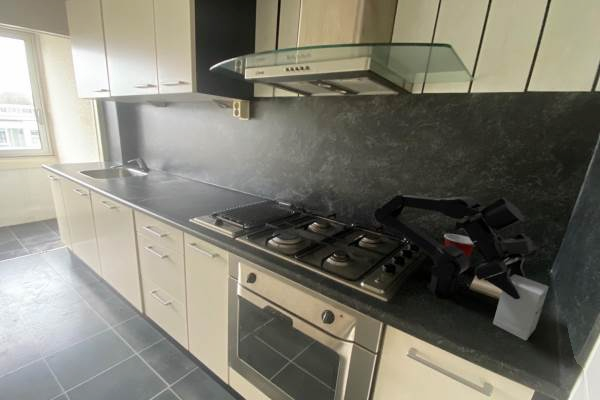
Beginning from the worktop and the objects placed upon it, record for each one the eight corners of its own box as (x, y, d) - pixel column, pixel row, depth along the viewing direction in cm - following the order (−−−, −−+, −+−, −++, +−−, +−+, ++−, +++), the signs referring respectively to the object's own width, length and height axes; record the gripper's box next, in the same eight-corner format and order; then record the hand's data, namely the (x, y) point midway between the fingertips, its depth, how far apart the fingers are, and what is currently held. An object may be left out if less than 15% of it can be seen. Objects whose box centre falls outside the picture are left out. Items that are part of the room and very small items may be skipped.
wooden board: (529, 310, 78) (530, 307, 78) (469, 288, 87) (469, 286, 87) (530, 289, 89) (531, 287, 89) (477, 272, 98) (477, 270, 98)
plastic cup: (470, 265, 104) (476, 236, 101) (472, 278, 94) (480, 245, 92) (438, 258, 109) (444, 229, 106) (438, 269, 99) (444, 238, 96)
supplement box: (526, 341, 65) (541, 295, 62) (491, 323, 71) (503, 280, 68) (536, 330, 70) (550, 286, 67) (502, 314, 75) (513, 272, 72)
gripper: (500, 230, 62) (549, 297, 57) (524, 218, 74) (568, 273, 68) (457, 249, 70) (497, 309, 65) (485, 236, 82) (521, 286, 76)
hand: (522, 293), depth 68 cm, fingers closed on supplement box, 7 cm apart
